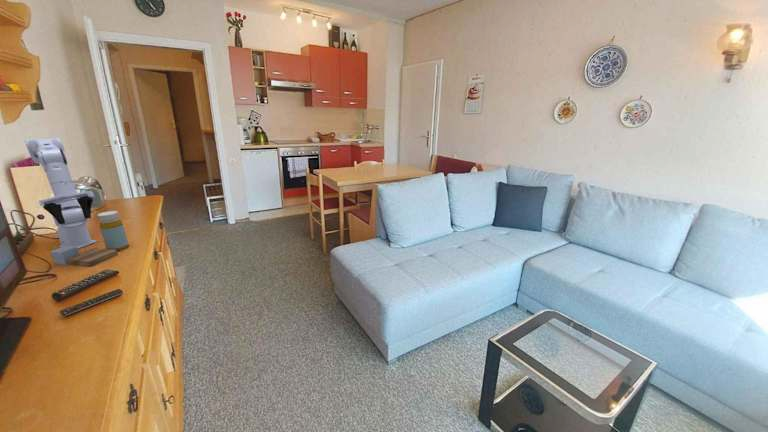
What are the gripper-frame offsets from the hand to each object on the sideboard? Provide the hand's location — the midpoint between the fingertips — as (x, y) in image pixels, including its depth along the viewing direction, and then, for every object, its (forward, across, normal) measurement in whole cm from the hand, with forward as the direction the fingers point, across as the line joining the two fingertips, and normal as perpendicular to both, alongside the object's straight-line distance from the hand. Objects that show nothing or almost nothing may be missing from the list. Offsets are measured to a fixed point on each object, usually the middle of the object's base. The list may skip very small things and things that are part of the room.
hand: (75, 221), depth 111 cm
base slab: (+15, -1, +6) cm, 16 cm away
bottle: (+13, +3, +14) cm, 20 cm away
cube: (+13, -10, +7) cm, 18 cm away
